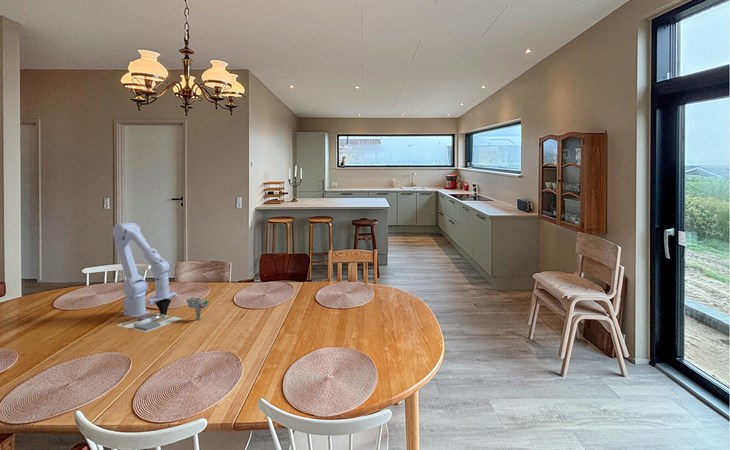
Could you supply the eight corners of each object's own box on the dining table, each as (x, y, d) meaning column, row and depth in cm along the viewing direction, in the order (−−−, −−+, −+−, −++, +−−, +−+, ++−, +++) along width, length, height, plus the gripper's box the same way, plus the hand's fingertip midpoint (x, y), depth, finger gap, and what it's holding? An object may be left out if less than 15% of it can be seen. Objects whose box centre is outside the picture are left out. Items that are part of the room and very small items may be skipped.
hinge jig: (116, 325, 191) (116, 320, 191) (153, 313, 209) (153, 307, 208) (146, 332, 184) (146, 326, 183) (182, 319, 201) (182, 313, 200)
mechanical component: (206, 322, 197) (205, 300, 195) (186, 320, 199) (185, 299, 197) (210, 320, 200) (209, 299, 198) (190, 318, 202) (189, 297, 200)
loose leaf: (139, 320, 197) (138, 315, 197) (152, 316, 203) (152, 311, 203) (151, 323, 194) (151, 318, 193) (165, 318, 200) (164, 313, 200)
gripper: (154, 291, 194) (156, 321, 195) (180, 284, 207) (182, 311, 208) (143, 289, 197) (145, 318, 198) (170, 282, 210) (171, 309, 211)
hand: (163, 315), depth 203 cm, fingers closed
